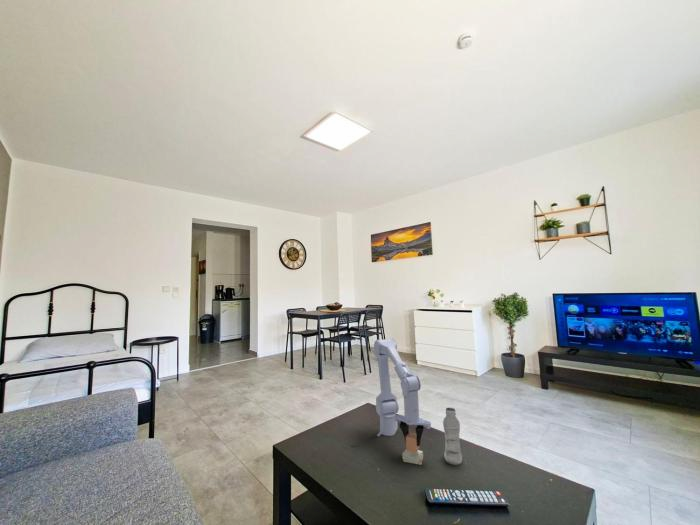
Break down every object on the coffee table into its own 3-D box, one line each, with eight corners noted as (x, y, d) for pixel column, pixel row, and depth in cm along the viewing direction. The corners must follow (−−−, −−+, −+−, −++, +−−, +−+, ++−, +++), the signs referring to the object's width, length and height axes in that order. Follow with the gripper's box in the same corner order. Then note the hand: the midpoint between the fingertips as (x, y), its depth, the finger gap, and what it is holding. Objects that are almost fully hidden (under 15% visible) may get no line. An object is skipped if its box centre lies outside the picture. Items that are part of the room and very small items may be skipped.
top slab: (408, 451, 114) (408, 446, 114) (423, 456, 110) (422, 451, 110) (402, 459, 109) (402, 453, 109) (417, 464, 105) (416, 458, 106)
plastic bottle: (441, 464, 107) (438, 409, 110) (449, 456, 112) (446, 404, 115) (458, 471, 103) (455, 414, 105) (465, 463, 108) (461, 408, 110)
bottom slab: (406, 456, 114) (405, 451, 114) (423, 459, 112) (423, 454, 112) (403, 466, 107) (403, 461, 108) (421, 470, 105) (421, 464, 105)
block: (409, 445, 112) (409, 432, 113) (419, 447, 110) (418, 434, 111) (406, 450, 109) (405, 436, 110) (416, 452, 107) (415, 439, 108)
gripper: (390, 407, 112) (392, 443, 110) (426, 414, 105) (428, 453, 103) (397, 401, 118) (398, 435, 116) (431, 408, 111) (433, 444, 109)
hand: (412, 443), depth 110 cm, fingers closed on block, 4 cm apart
